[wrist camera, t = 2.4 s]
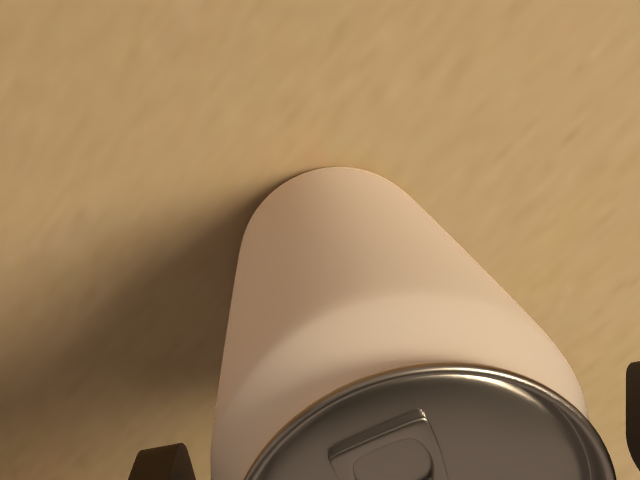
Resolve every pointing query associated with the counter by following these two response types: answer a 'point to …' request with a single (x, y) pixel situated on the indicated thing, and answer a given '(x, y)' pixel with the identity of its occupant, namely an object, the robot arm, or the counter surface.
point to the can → (385, 352)
